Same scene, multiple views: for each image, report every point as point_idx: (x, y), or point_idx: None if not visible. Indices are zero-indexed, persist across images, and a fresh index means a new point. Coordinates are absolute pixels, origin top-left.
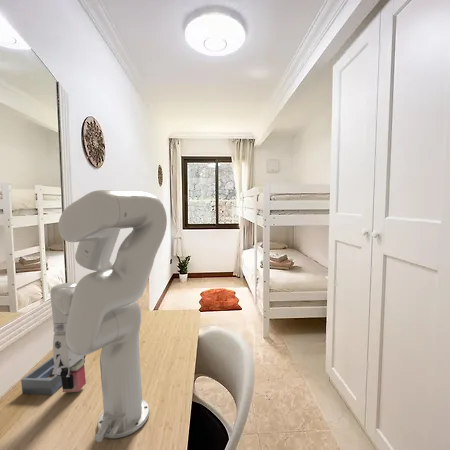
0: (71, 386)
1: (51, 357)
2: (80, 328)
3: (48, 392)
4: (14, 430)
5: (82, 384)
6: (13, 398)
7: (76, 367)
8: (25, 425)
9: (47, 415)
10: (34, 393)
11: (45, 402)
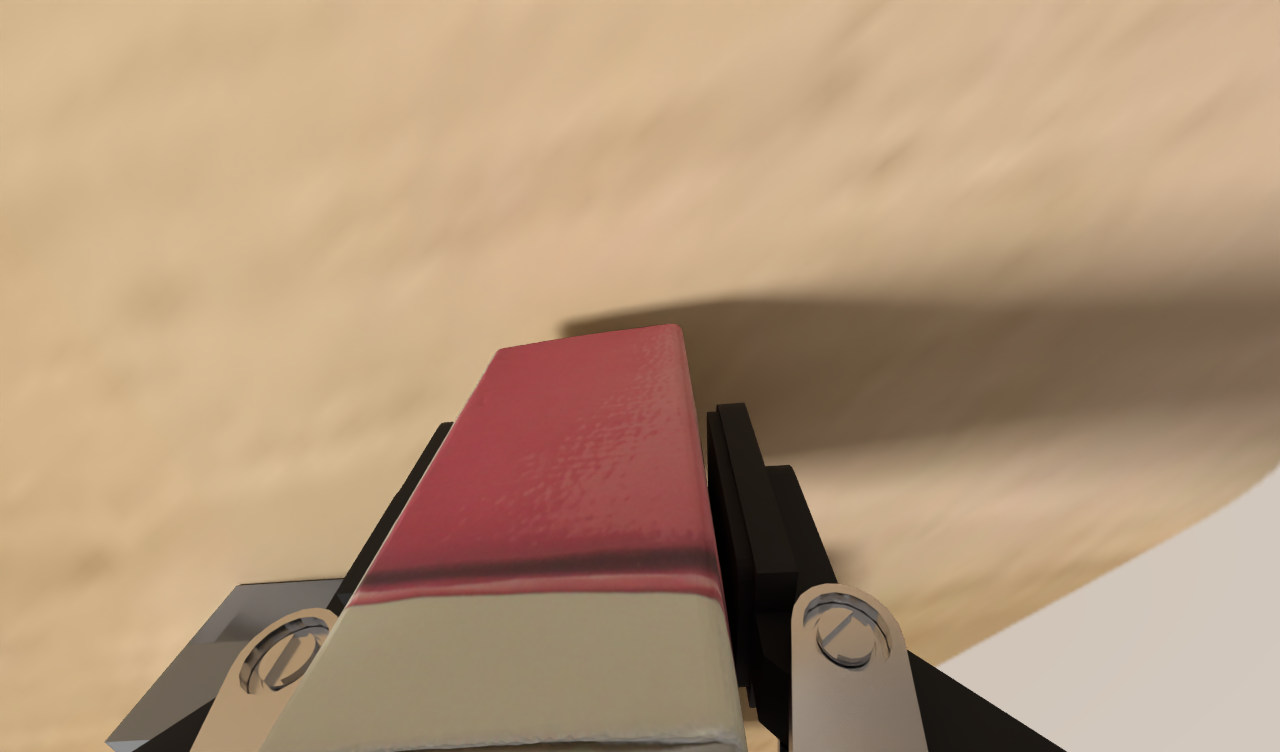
0: (748, 430)
1: None
2: None
3: None
4: (1116, 523)
5: (574, 350)
6: (751, 734)
7: (711, 690)
8: (1077, 489)
9: (980, 404)
10: None
11: None
